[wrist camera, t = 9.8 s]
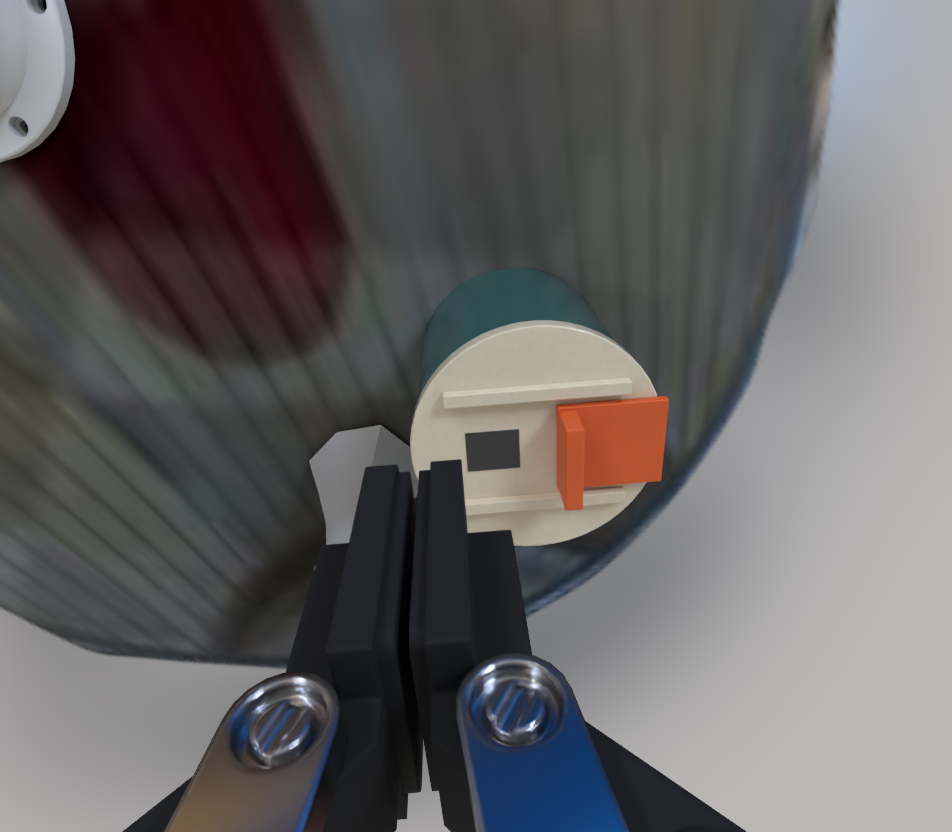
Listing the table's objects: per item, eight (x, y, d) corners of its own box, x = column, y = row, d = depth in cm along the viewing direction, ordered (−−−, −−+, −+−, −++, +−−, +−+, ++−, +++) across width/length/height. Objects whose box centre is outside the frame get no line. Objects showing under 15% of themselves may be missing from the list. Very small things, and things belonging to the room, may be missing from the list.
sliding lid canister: (428, 445, 39) (423, 562, 29) (408, 271, 33) (393, 340, 23) (601, 431, 39) (656, 543, 29) (608, 256, 34) (679, 319, 24)
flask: (290, 454, 38) (244, 557, 30) (385, 405, 37) (368, 497, 28) (351, 531, 42) (327, 645, 33) (442, 488, 40) (442, 595, 31)
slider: (556, 485, 27) (565, 513, 26) (556, 404, 26) (565, 428, 24) (658, 476, 28) (675, 504, 26) (666, 395, 26) (684, 419, 24)
